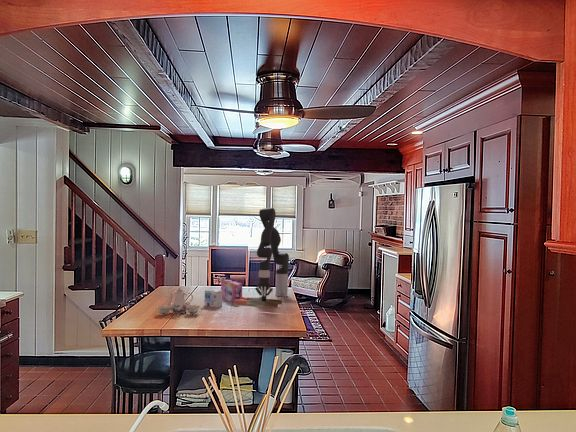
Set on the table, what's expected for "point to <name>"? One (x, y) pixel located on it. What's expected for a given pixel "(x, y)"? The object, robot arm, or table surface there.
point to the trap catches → (242, 300)
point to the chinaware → (178, 304)
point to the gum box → (231, 289)
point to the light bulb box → (213, 298)
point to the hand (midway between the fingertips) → (264, 301)
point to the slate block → (256, 298)
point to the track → (264, 303)
